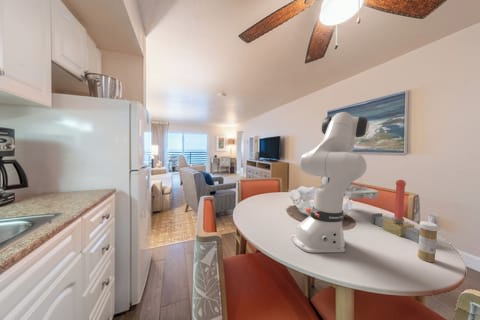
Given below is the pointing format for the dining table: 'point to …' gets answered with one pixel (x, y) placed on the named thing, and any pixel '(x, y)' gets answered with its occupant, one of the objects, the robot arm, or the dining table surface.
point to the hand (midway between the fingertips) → (373, 197)
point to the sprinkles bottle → (427, 241)
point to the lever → (399, 201)
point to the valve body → (396, 227)
